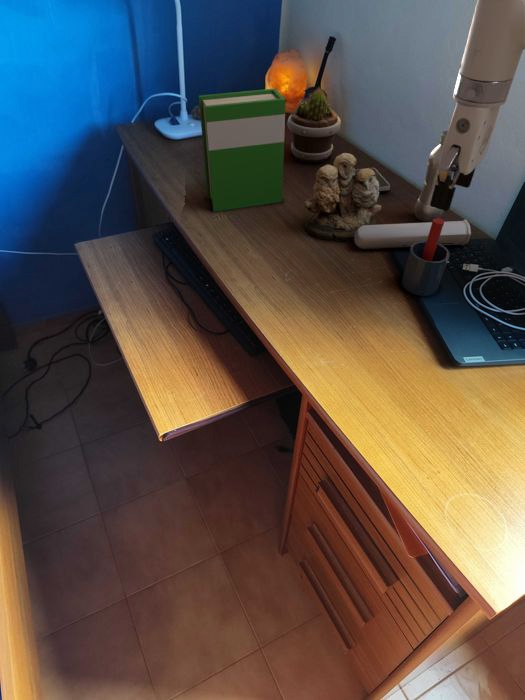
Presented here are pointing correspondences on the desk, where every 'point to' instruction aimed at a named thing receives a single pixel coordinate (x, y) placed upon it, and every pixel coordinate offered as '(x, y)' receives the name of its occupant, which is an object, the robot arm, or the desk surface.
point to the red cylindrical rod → (432, 239)
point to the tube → (409, 234)
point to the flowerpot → (313, 128)
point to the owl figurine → (342, 200)
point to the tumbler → (424, 269)
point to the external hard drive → (383, 183)
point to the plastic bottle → (430, 185)
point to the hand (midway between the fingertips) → (450, 196)
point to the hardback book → (243, 147)
